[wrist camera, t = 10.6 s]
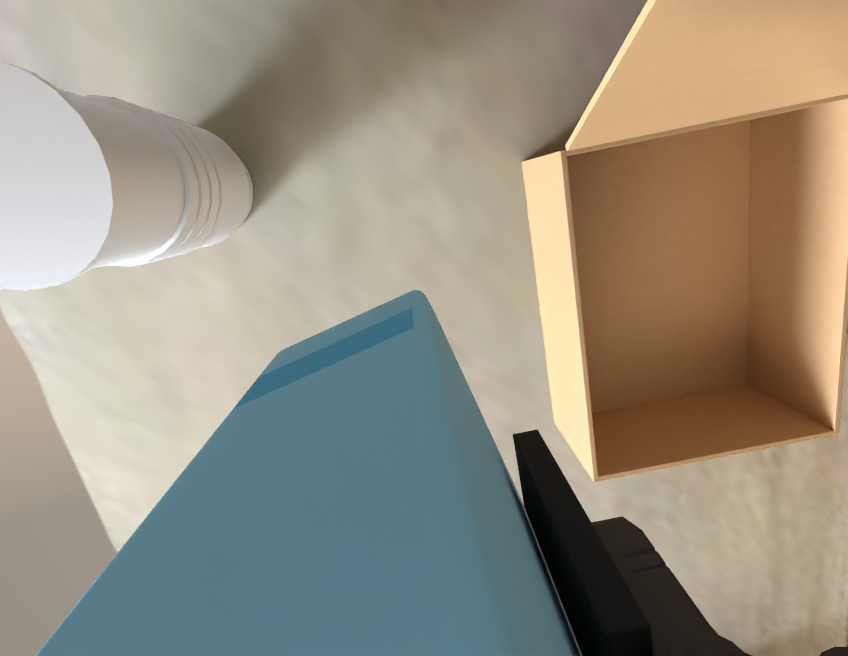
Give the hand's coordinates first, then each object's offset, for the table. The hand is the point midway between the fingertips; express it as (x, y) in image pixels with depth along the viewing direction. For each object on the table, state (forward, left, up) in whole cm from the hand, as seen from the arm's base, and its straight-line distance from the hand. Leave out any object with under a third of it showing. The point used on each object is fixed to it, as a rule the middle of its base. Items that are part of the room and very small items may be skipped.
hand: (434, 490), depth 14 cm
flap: (-11, +16, -6) cm, 20 cm away
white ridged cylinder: (-12, -11, -18) cm, 24 cm away
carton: (0, +16, -18) cm, 24 cm away
